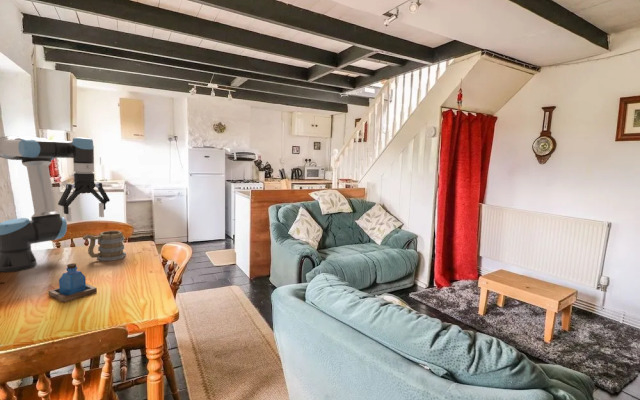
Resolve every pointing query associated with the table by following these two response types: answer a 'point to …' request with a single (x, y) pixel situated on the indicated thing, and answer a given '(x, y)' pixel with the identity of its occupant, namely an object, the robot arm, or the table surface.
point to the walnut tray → (63, 298)
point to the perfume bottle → (72, 281)
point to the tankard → (107, 245)
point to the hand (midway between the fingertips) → (85, 218)
